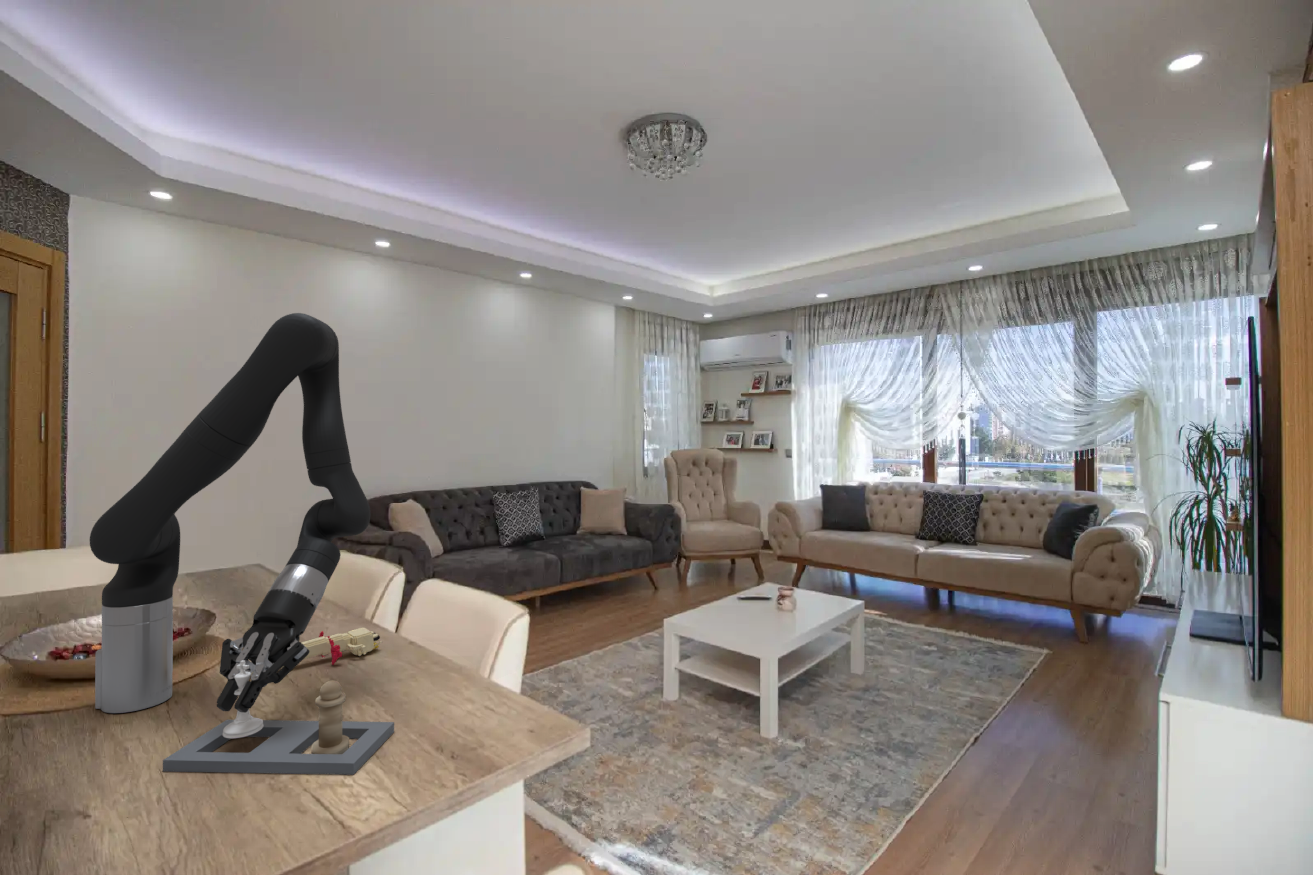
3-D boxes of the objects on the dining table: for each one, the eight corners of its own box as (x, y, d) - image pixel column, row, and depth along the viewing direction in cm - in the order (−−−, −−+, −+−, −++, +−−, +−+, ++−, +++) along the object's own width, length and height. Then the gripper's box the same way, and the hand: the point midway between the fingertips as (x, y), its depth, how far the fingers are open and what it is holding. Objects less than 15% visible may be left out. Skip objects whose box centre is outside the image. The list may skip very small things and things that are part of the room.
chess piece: (243, 740, 86) (242, 668, 86) (213, 736, 87) (213, 666, 87) (271, 724, 91) (271, 656, 91) (243, 721, 92) (242, 653, 92)
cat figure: (248, 696, 111) (389, 651, 128) (243, 648, 110) (386, 610, 128) (236, 680, 118) (372, 640, 135) (232, 635, 117) (368, 600, 135)
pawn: (304, 759, 86) (304, 687, 86) (323, 742, 91) (323, 674, 91) (338, 760, 86) (338, 688, 86) (355, 743, 91) (355, 675, 91)
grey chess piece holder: (162, 771, 83) (162, 760, 83) (227, 729, 95) (227, 719, 95) (353, 774, 82) (353, 763, 82) (394, 731, 94) (394, 722, 94)
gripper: (240, 586, 97) (170, 696, 85) (321, 588, 95) (261, 701, 83) (266, 610, 102) (203, 717, 90) (343, 612, 101) (289, 722, 89)
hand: (231, 709), depth 87 cm, fingers closed on chess piece
